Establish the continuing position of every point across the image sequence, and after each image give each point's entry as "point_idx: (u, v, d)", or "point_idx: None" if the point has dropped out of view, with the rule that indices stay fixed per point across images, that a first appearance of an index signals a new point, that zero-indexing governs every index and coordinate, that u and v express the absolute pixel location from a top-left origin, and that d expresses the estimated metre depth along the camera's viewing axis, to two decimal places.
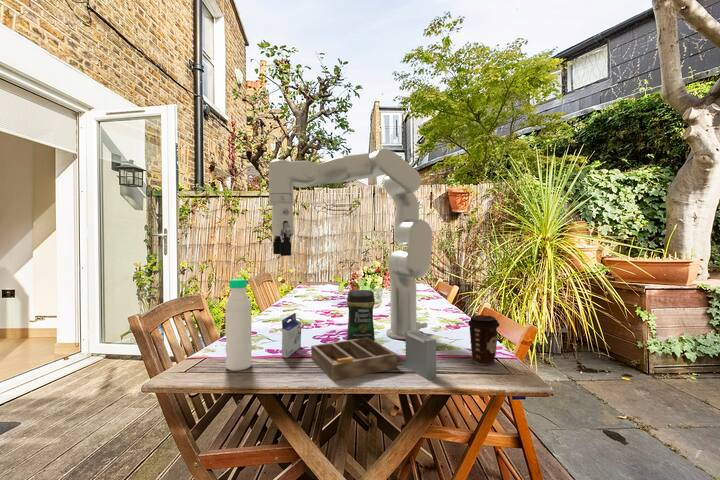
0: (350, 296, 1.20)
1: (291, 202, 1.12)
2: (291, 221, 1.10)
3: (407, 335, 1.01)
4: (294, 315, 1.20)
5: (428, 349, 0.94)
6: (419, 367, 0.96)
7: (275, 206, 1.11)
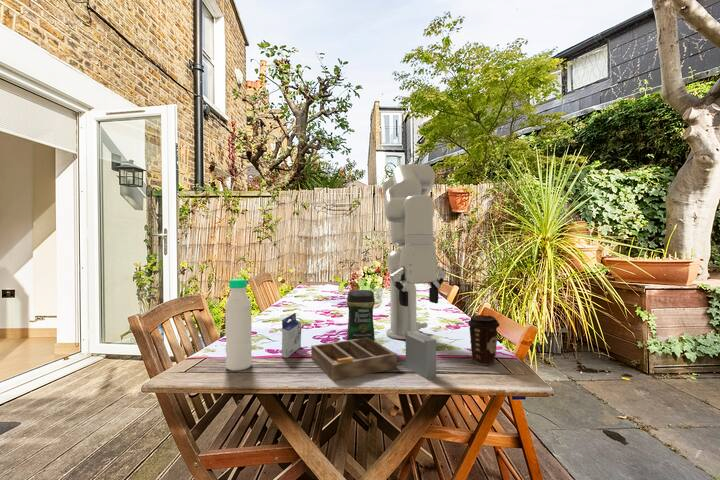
0: (350, 296, 1.20)
1: None
2: None
3: (407, 335, 1.01)
4: (294, 315, 1.20)
5: (428, 349, 0.94)
6: (419, 367, 0.96)
7: (430, 249, 0.97)
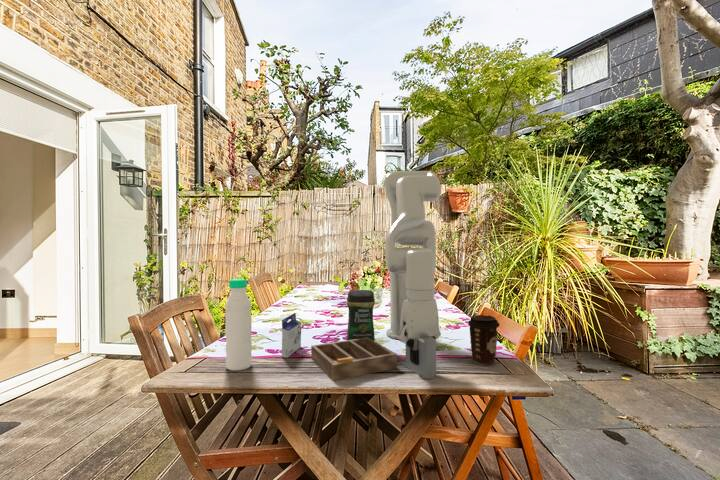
0: (350, 296, 1.20)
1: None
2: None
3: (407, 335, 1.01)
4: (294, 315, 1.20)
5: (428, 349, 0.94)
6: (419, 367, 0.96)
7: (431, 303, 0.97)
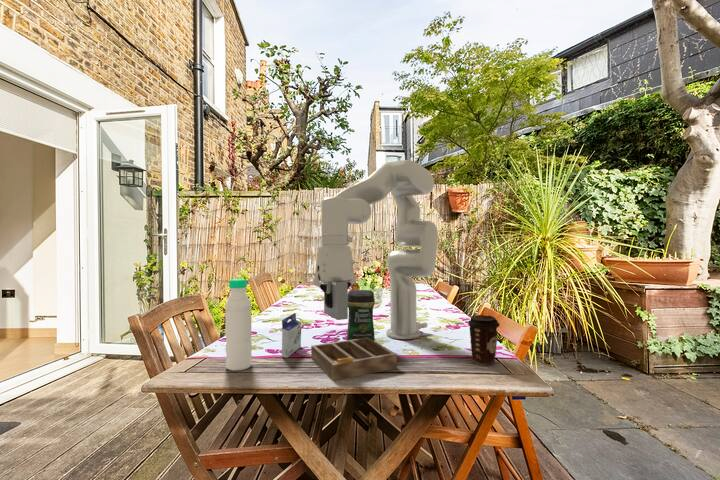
0: (350, 296, 1.20)
1: None
2: None
3: None
4: (294, 315, 1.20)
5: (339, 291, 0.97)
6: (333, 310, 1.00)
7: (345, 249, 1.01)
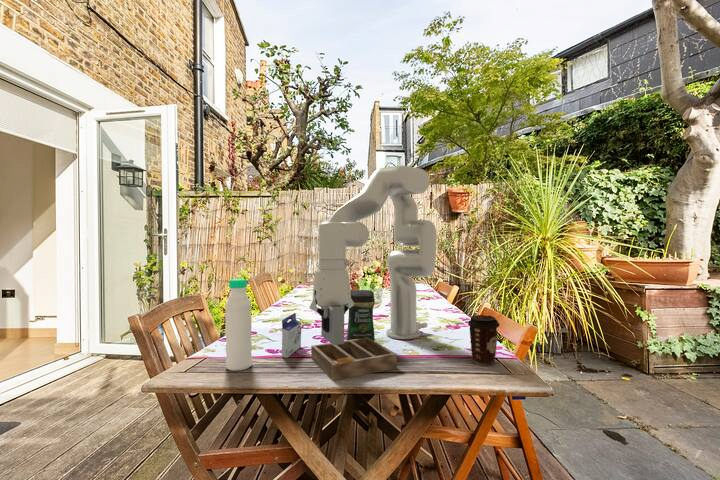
0: None
1: None
2: None
3: None
4: (294, 315, 1.20)
5: (335, 316, 0.97)
6: (329, 334, 1.00)
7: (342, 273, 1.01)
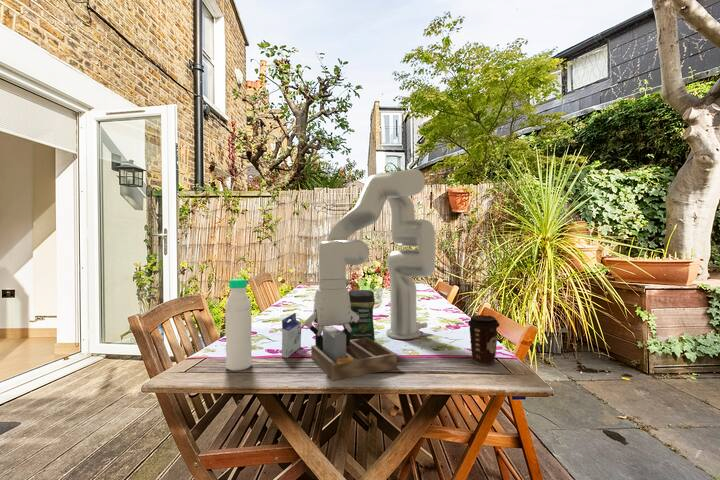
0: (350, 296, 1.20)
1: None
2: None
3: (324, 331, 1.05)
4: (294, 315, 1.20)
5: (337, 344, 0.98)
6: None
7: (342, 292, 1.01)
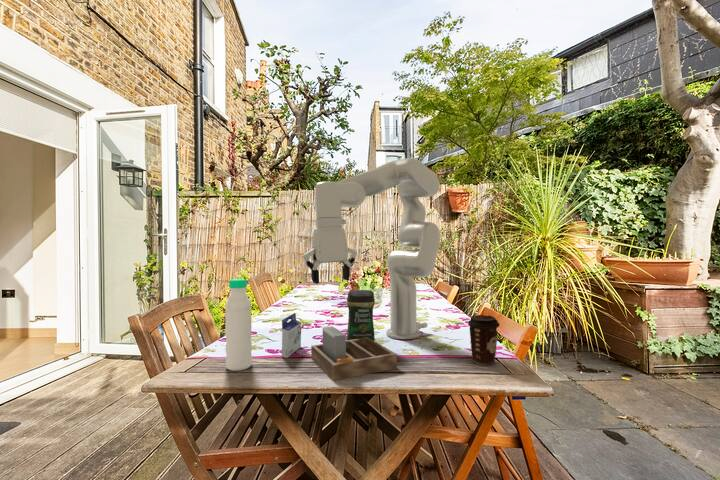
0: (350, 296, 1.20)
1: None
2: None
3: (323, 331, 1.05)
4: (294, 315, 1.20)
5: (337, 344, 0.98)
6: None
7: (339, 230, 1.06)
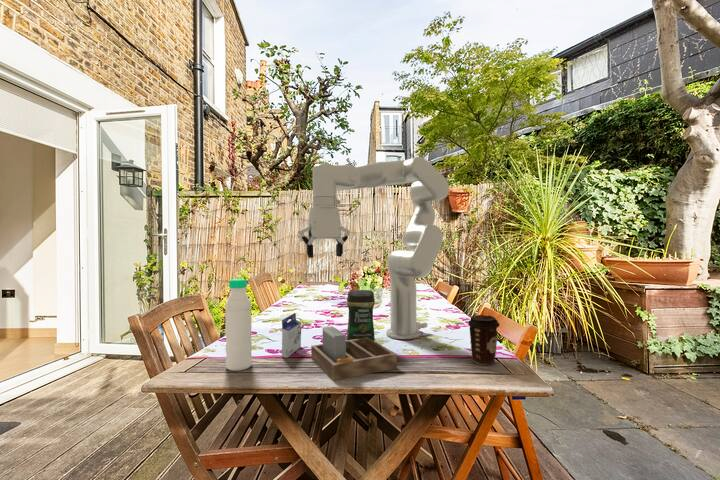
0: (350, 296, 1.20)
1: None
2: None
3: (323, 331, 1.05)
4: (294, 315, 1.20)
5: (337, 344, 0.98)
6: None
7: (333, 209, 1.14)
